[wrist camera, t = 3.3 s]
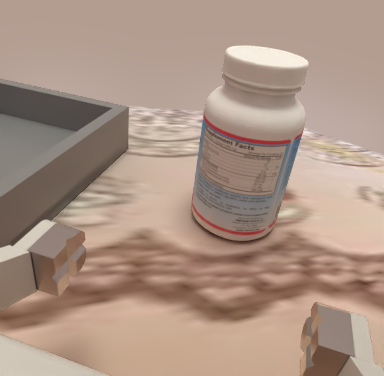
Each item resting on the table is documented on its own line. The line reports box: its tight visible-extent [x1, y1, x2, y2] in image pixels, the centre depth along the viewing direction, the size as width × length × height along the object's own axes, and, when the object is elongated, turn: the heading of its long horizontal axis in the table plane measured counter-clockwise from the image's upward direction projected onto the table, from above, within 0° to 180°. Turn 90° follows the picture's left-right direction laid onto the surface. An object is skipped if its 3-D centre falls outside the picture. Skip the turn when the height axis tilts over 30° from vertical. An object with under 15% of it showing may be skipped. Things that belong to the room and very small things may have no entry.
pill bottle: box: [192, 46, 308, 241], centre depth 22 cm, size 6×6×11 cm
